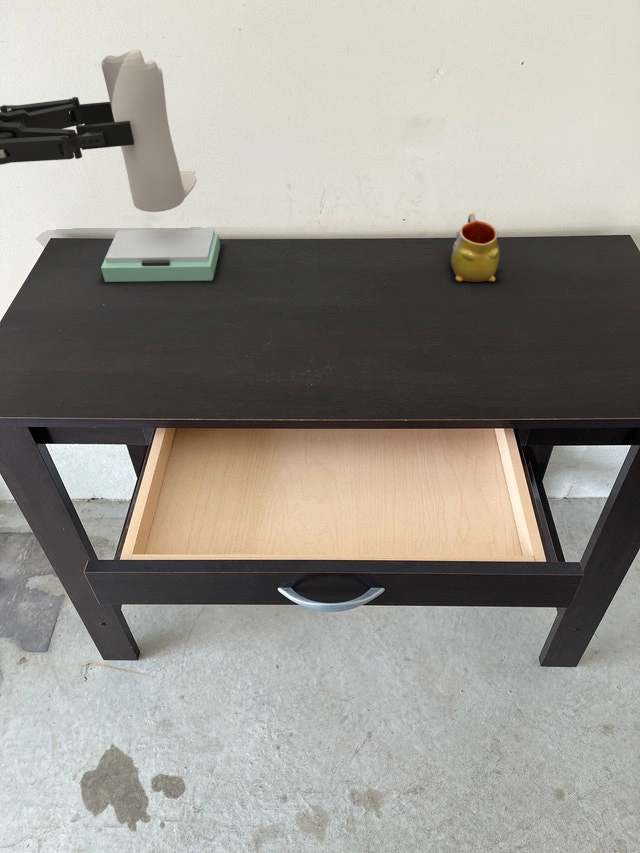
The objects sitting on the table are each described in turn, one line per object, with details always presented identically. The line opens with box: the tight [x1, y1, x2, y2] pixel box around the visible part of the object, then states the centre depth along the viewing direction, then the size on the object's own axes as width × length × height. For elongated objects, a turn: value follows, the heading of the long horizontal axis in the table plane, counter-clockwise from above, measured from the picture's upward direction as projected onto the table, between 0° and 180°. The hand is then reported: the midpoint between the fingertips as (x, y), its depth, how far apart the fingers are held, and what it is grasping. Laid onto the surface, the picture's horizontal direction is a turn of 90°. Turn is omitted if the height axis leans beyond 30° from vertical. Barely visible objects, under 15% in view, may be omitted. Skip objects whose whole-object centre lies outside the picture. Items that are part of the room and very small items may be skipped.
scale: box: [100, 228, 221, 283], centre depth 99 cm, size 16×10×3 cm, turn 89°
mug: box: [450, 212, 501, 283], centre depth 96 cm, size 12×7×7 cm, turn 174°
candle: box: [101, 48, 198, 213], centre depth 89 cm, size 7×14×20 cm, turn 167°
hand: (131, 121), depth 86 cm, fingers closed on candle, 7 cm apart
